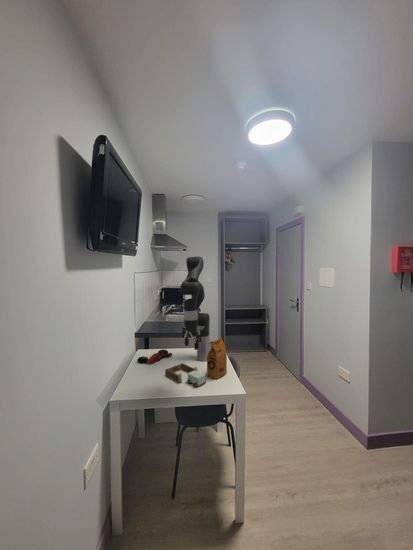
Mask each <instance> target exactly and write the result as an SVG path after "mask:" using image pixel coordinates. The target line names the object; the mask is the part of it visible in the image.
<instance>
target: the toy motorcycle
mask: <svg viewBox="0 0 413 550" xmlns="http://www.w3.org/2000/svg"><path fill="white" fill-rule="evenodd" d="M173 355H174V353H173V352H169V350H167V349H160V350H158V351H157V352H155V353H154V354H152V355H151V356H150V357H149V358H148V356H139V357H138V358H137V360H136V361H137V363H139V364H157V363H158V362H159V361H161V360H162V359H164V358H169V357H171V356H173Z"/></svg>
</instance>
